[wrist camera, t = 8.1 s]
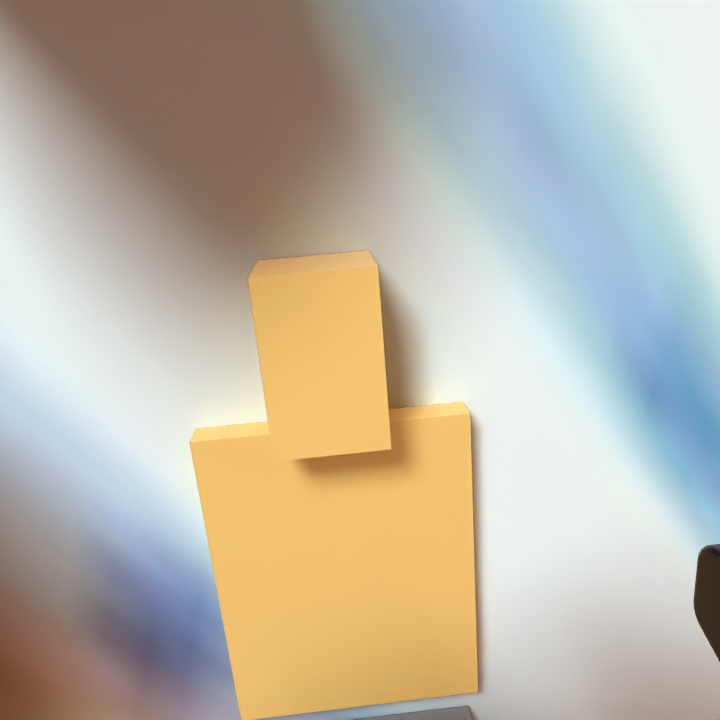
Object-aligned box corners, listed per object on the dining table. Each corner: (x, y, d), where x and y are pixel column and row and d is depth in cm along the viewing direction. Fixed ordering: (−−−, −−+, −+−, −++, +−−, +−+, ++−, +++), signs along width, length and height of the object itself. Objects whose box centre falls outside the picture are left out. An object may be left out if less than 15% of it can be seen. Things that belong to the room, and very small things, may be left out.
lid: (471, 670, 23) (491, 737, 20) (244, 697, 23) (235, 768, 20) (457, 241, 18) (482, 256, 15) (166, 268, 18) (140, 288, 15)
